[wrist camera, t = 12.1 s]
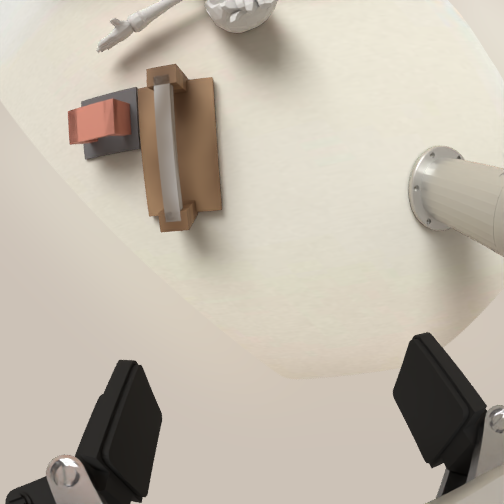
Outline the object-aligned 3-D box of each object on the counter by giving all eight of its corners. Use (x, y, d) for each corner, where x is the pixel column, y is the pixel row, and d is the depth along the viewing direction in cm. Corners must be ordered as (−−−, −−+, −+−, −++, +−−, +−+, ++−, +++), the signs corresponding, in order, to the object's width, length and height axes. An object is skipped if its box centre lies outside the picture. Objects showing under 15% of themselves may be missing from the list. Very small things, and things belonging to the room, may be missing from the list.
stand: (212, 75, 29) (206, 59, 23) (222, 211, 35) (218, 227, 29) (140, 86, 29) (119, 75, 23) (152, 218, 35) (134, 234, 29)
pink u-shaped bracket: (129, 103, 30) (112, 98, 25) (131, 134, 31) (114, 133, 26) (88, 113, 29) (68, 111, 25) (90, 143, 31) (69, 144, 26)
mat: (136, 87, 29) (135, 87, 29) (140, 148, 32) (139, 148, 32) (82, 101, 29) (81, 101, 29) (86, 159, 32) (85, 159, 32)
